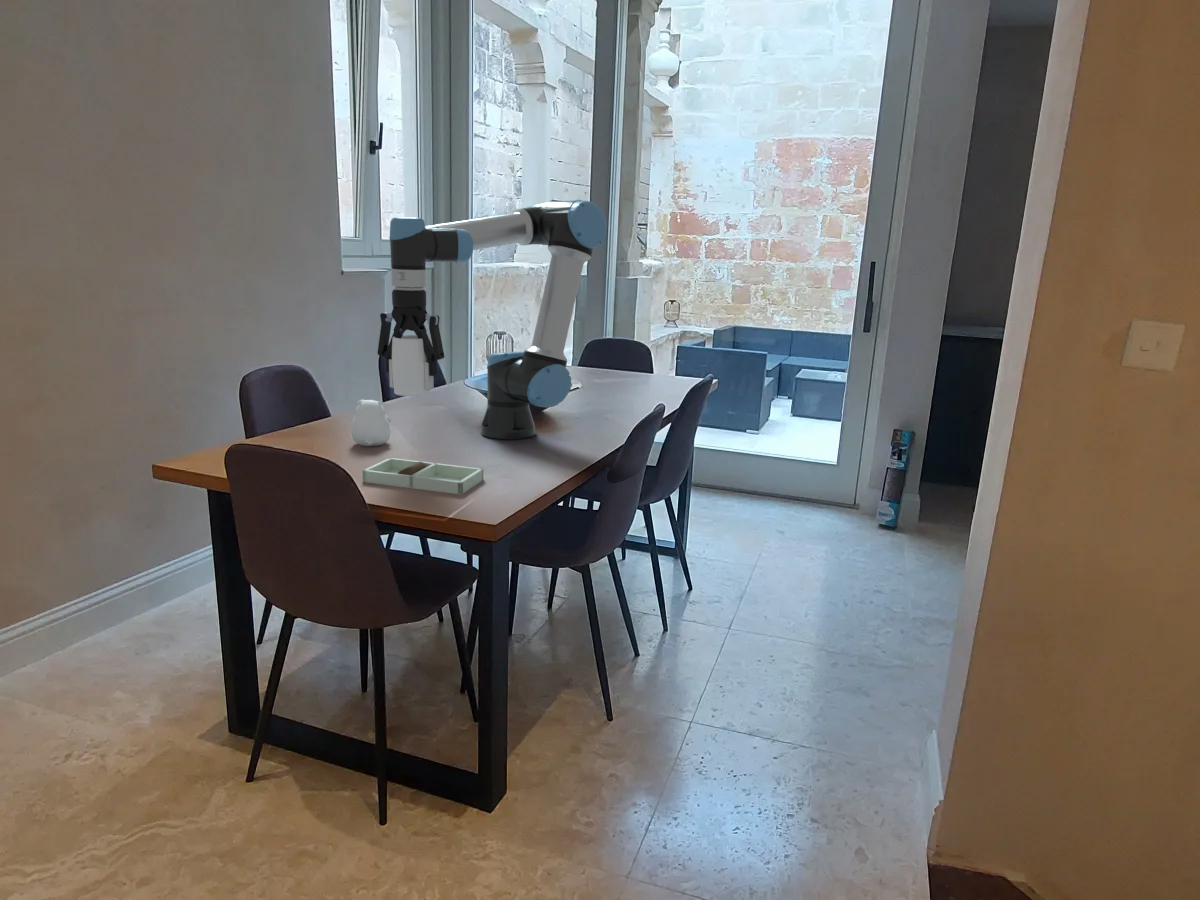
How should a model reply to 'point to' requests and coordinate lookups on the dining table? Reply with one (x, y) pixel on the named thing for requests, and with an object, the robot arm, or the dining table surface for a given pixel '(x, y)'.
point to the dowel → (413, 469)
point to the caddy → (424, 476)
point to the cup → (408, 366)
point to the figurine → (370, 424)
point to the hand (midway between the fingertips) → (411, 387)
